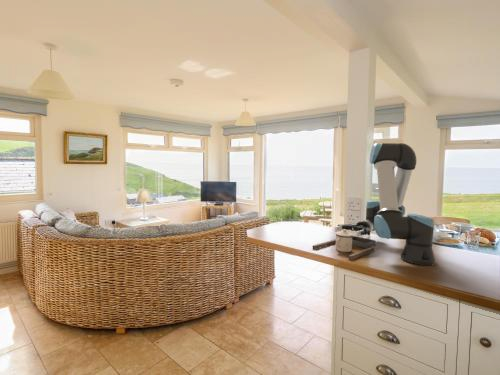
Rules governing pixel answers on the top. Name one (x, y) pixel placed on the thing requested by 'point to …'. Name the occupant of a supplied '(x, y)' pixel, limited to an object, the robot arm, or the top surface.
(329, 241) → the walnut rail lane
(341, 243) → the teacup with lid
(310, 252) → the top surface
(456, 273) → the top surface
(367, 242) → the bin
